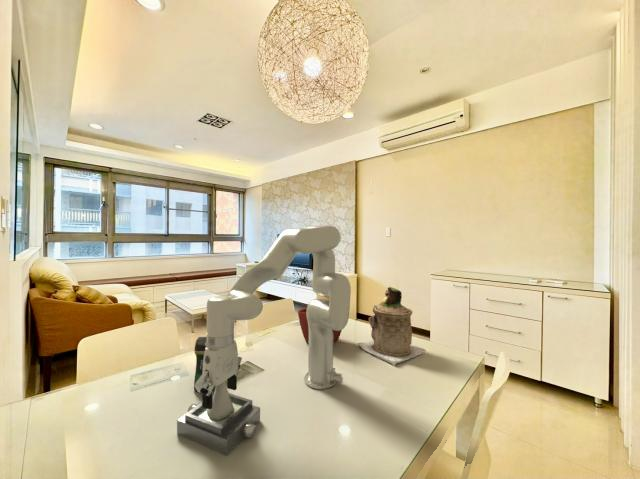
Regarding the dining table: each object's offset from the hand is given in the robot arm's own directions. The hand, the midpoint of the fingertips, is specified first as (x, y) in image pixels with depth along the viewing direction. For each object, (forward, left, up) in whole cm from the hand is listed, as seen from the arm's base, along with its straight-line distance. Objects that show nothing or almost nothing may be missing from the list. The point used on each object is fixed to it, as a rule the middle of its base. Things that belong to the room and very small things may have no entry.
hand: (220, 397), depth 77 cm
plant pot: (-3, -70, -9) cm, 71 cm away
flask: (0, 0, -4) cm, 4 cm away
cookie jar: (-38, -74, -9) cm, 84 cm away
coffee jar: (+19, -14, -9) cm, 25 cm away
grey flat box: (0, 0, -9) cm, 9 cm away
